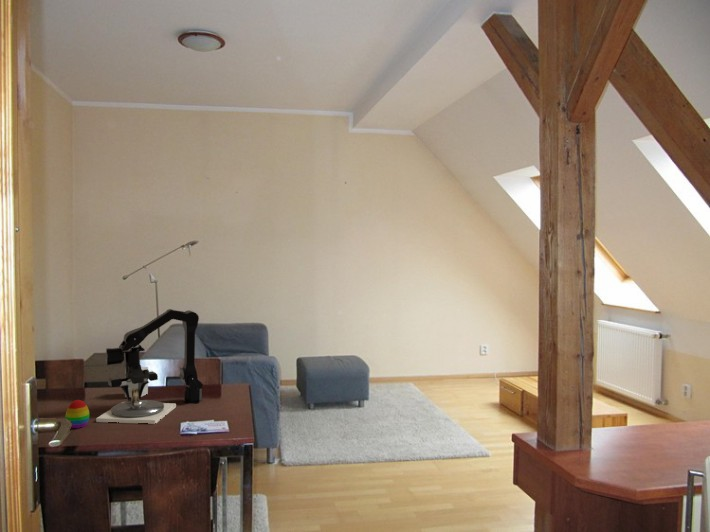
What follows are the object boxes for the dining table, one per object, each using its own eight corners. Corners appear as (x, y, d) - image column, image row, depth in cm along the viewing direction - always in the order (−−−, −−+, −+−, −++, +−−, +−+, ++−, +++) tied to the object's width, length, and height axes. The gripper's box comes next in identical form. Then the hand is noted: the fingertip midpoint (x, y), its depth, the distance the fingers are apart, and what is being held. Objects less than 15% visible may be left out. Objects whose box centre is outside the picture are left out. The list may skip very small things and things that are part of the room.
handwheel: (167, 413, 231) (168, 398, 231) (113, 419, 222) (113, 403, 222) (159, 400, 249) (159, 386, 249) (109, 405, 240) (109, 390, 240)
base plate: (175, 407, 247) (175, 403, 247) (155, 424, 224) (155, 419, 224) (122, 405, 248) (122, 401, 248) (96, 422, 225) (96, 417, 225)
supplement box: (139, 398, 259) (139, 370, 258) (124, 397, 260) (124, 369, 260) (148, 394, 266) (148, 366, 265) (133, 393, 267) (133, 365, 267)
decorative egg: (81, 421, 225) (81, 396, 225) (93, 425, 220) (93, 399, 220) (61, 426, 218) (61, 400, 218) (72, 431, 214) (72, 404, 213)
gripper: (114, 369, 230) (116, 408, 231) (161, 362, 241) (162, 399, 242) (107, 364, 239) (108, 401, 240) (152, 358, 250) (153, 393, 251)
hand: (133, 399), depth 243 cm, fingers open, 4 cm apart
